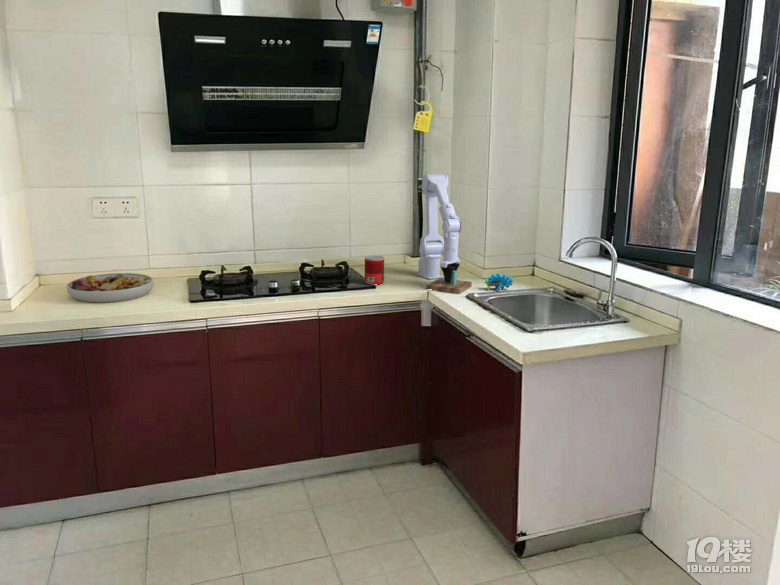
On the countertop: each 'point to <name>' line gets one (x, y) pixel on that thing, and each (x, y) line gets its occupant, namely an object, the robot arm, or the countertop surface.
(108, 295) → the bowl
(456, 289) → the slot plate
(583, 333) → the countertop surface
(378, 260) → the canned food
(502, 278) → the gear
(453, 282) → the post
